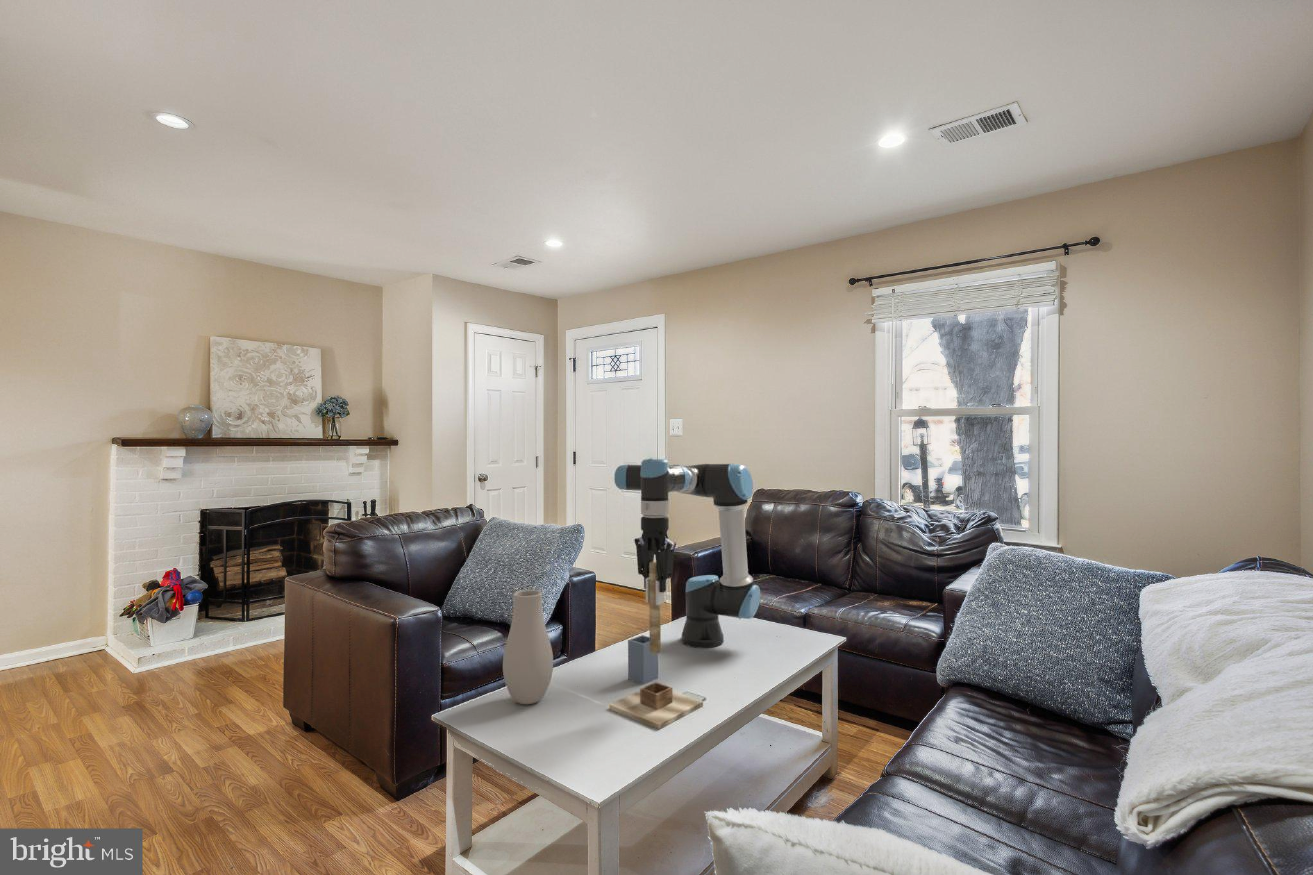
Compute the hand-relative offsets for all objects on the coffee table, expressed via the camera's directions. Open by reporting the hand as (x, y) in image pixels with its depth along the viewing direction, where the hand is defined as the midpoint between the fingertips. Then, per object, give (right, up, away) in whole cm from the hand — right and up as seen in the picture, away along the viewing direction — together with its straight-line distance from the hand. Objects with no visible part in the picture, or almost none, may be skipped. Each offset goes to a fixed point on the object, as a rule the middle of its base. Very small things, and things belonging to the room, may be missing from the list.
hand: (655, 602), depth 165 cm
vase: (-35, -29, +5) cm, 46 cm away
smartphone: (+7, -29, +1) cm, 30 cm away
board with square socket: (0, -28, 0) cm, 28 cm away
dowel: (0, -13, 0) cm, 13 cm away
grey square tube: (-4, -29, +20) cm, 35 cm away
